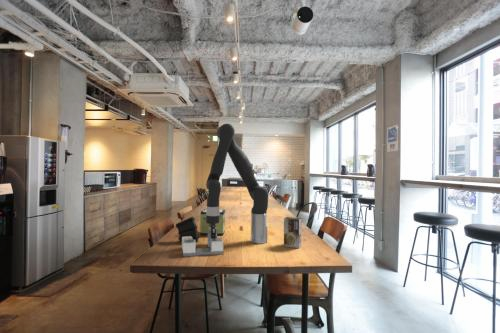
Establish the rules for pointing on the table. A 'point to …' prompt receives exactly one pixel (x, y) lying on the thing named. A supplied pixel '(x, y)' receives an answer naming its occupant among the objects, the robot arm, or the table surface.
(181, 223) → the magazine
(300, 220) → the coffee box
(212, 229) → the robot arm
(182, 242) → the block
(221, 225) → the protein box
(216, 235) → the block
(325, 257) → the table surface
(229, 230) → the table surface
